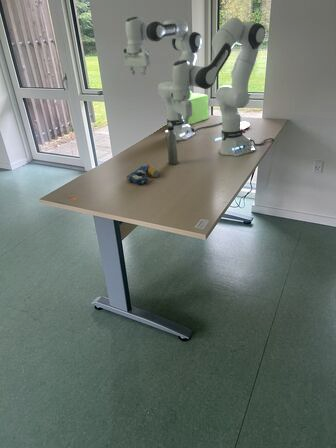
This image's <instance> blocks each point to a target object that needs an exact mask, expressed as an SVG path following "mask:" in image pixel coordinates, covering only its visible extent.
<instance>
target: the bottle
mask: <svg viewBox="0 0 336 448" xmlns="http://www.w3.org/2000/svg"><path fill="white" fill-rule="evenodd" d="M166 144H167V145H166V146H167V157H168V165H171V166H175V165H178V163H179V159H178V158H179V157H178V146H177V141H176V133H175V132H174V131H173V130H169V132H168V133H167V132H166Z"/></svg>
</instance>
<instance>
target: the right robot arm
mask: <svg viewBox="0 0 336 448" xmlns="http://www.w3.org/2000/svg"><path fill="white" fill-rule="evenodd" d="M265 37H266V28H265V26H264V25H263V24H261V23H259V22H253V21H242V20H241V19H240V18H238V17H231V18H229V19H228V20H227V21H226V22H225V23H223V25H221V27H220V28H219V29H218V30H217V31H216V33H215V34H214V35H213V38H212V40H211V48H212V49H213V52H214V53H215V55H214V56H213V58H212V59H211V61H210V62H209V64H208V65H205V66H199V65H195V64H194V65H192V64H190V63H189V62H188V61H187V60H181V61H179V60H177V61H175V62H174V63H173V65H172V71H171V76H172V82H173V85H174V86H173V92H172V93H171V97H172V104H173V109H174V111H176V112H177V117H178V120H179V121H181V120H182V117H181V115H183V116H184V118H185V120H184V124H185V125H186V124H188V119H189V117H192V104H191V101H189V99H190V91H191V87H195V88H200V89H203V90H208V89H210V88H212V87H213V85H214V84H215V83H216V80H217V77H218V75H219V73H220V71H221V70H222V68H223V67H224V65H225V64H226V63H227V61H228V59H229V57H230V55H231V53H232V49H233V47H234V46H235V45H240V49H239V51H238V53H237V55H236V58H235V61H234V64H233V66H232V69H231V71H230V76H231V85H223V86H220V87H219V88H217V89H216V92H215V100H216V101H217V103H218V105H219V109H220V115H221V123H222V124H221V134H220V135H221V137H217V138H215V139H214V141H219V140H221V143H220V149H219V153H220V154H222V155H224V156H235V157H239V156H242V155H245V154H249V153H253V152H255V151H256V148H255V146H261V145H264V143H265V142H266V141H269V140H272V141H275V139H274V138H270V137H269V138H266V139H264V140H263V141H262V142H261V143H255V140H254V139H252V138H250V137H248V136H246V135H244V134H246V133H247V129H243V130H242V129H240V122H242V121H241V119H242V116H241V114H240V112H239V110H238V109H243V108H245V107H247V106H248V104H249V102H250V94H249V82H250V78H251V75H252V73H253V70H254V68H255V65H256V63H257V59H258V55H259V50H260V46H261V45H262V44H263V42H264V40H265ZM252 142H253V144H252ZM253 145H254V146H253Z"/></svg>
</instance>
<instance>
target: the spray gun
mask: <svg viewBox="0 0 336 448" xmlns="http://www.w3.org/2000/svg"><path fill="white" fill-rule="evenodd" d="M148 174H149V175H150V176H151V177H153V178H158V176H159V174H160V172H159V170H158V169H157V168H154V167H153V166H150V164H140V165H139V166H138V167H137V168H135V169H134V170H133V171H131V172H130V173H129V174H128V175H127V176H126V179H125V181H127V182H129V183H131V182H132V183H134V184H136V185H142V184H146V183H147V182H148V180H149V177H147V175H148Z"/></svg>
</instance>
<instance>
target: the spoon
mask: <svg viewBox="0 0 336 448" xmlns="http://www.w3.org/2000/svg"><path fill="white" fill-rule="evenodd" d="M250 125H251V124H250V123H249V122H248V121H245V120H243V121H241V122H240V129H242V130H247V129H248V128H249V127H250Z"/></svg>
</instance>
